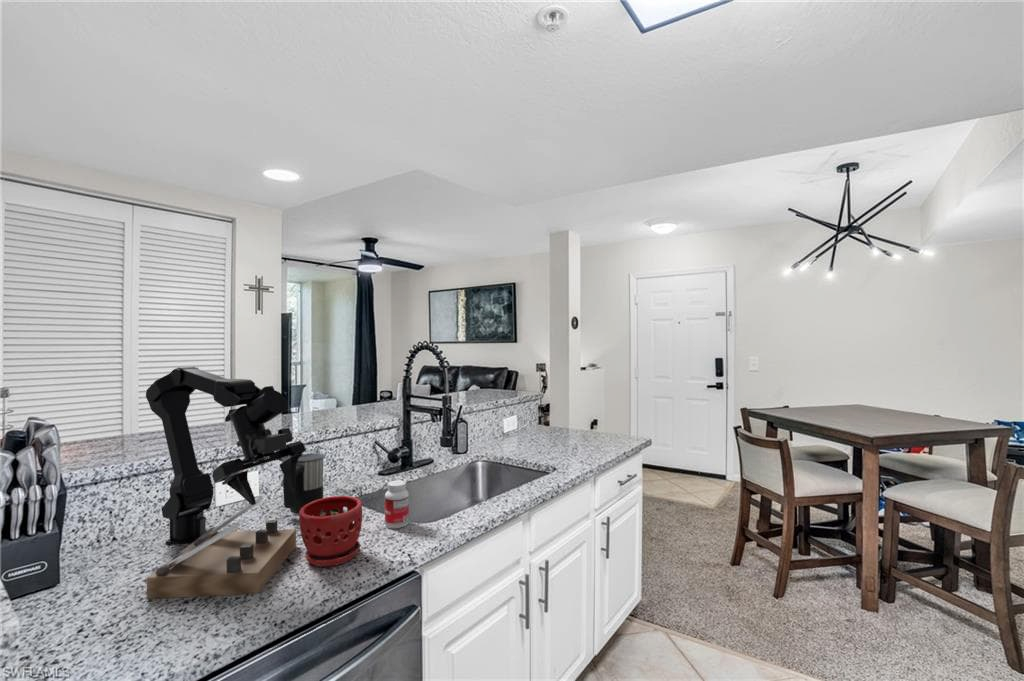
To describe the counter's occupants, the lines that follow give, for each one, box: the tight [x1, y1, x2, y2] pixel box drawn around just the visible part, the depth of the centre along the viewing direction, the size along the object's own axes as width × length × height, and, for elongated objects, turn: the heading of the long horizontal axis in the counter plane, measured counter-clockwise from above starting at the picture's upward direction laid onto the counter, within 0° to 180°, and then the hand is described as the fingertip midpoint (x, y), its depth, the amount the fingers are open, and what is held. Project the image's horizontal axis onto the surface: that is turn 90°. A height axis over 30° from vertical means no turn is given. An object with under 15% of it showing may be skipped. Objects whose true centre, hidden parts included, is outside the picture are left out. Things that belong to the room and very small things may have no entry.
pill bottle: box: [384, 479, 410, 529], centre depth 126 cm, size 6×6×11 cm
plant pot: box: [298, 495, 363, 567], centre depth 107 cm, size 13×13×12 cm
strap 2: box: [204, 495, 264, 539], centre depth 108 cm, size 14×3×1 cm
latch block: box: [146, 519, 297, 600], centre depth 101 cm, size 20×21×6 cm
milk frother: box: [282, 453, 339, 513], centre depth 136 cm, size 14×16×15 cm
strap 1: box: [167, 521, 241, 568], centre depth 95 cm, size 14×3×1 cm, turn 95°
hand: (274, 496), depth 105 cm, fingers open, 9 cm apart
